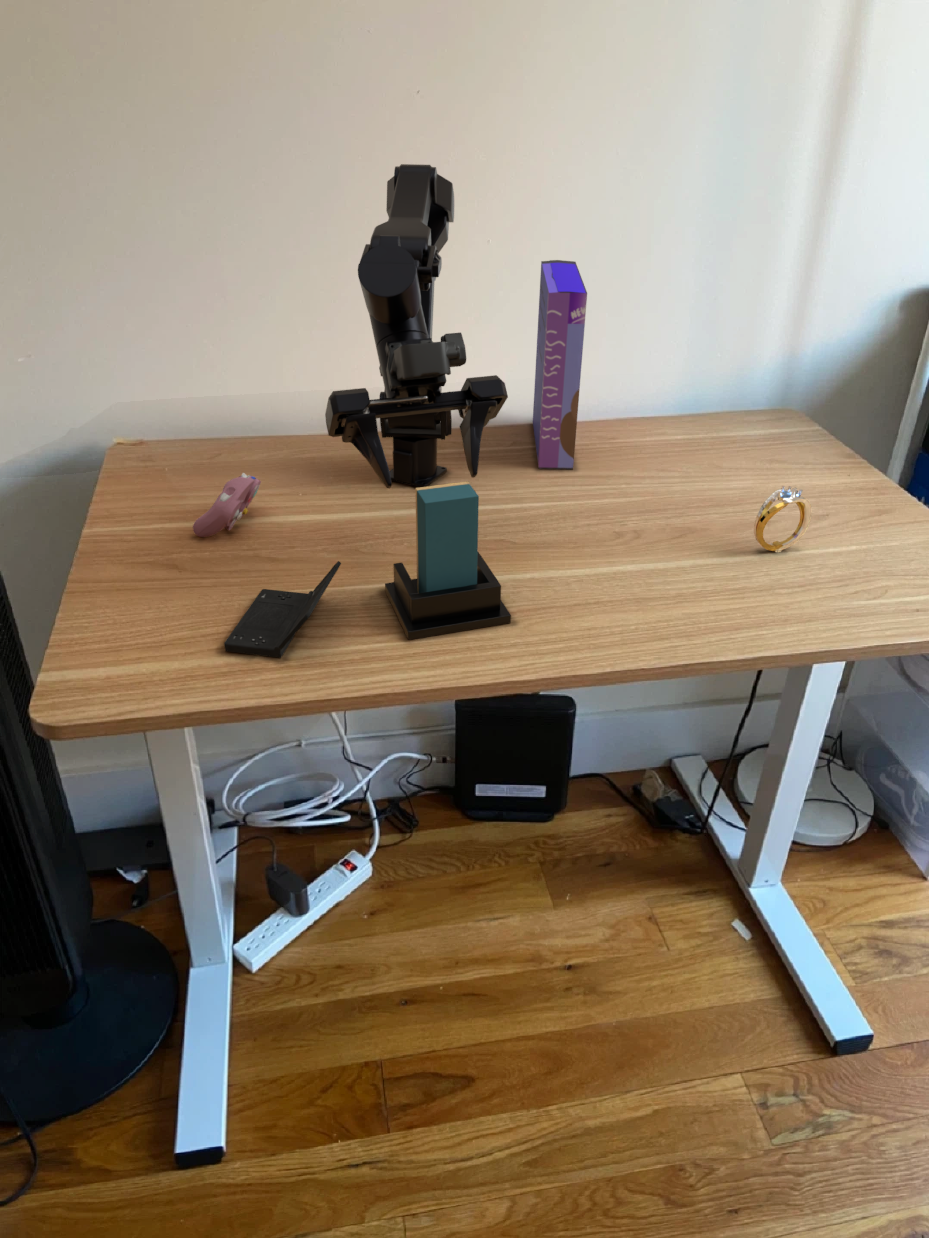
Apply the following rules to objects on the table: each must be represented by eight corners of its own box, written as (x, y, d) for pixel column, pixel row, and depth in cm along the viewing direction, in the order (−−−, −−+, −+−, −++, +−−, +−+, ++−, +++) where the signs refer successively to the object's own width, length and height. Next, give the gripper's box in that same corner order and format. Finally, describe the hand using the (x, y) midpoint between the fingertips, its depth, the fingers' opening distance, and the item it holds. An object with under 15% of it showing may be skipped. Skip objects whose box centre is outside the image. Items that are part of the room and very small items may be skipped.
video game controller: (222, 553, 113) (240, 508, 109) (187, 534, 113) (205, 489, 109) (253, 516, 122) (272, 474, 118) (221, 499, 121) (239, 455, 117)
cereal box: (573, 469, 131) (587, 291, 118) (538, 468, 131) (549, 291, 118) (563, 423, 146) (575, 260, 133) (532, 422, 146) (541, 259, 133)
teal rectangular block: (417, 594, 101) (415, 487, 94) (466, 586, 103) (467, 481, 96) (426, 611, 98) (424, 503, 92) (476, 603, 100) (478, 496, 93)
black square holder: (384, 591, 104) (383, 559, 101) (480, 576, 106) (481, 545, 104) (408, 640, 96) (407, 606, 93) (510, 623, 98) (512, 590, 96)
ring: (795, 541, 114) (809, 480, 110) (809, 553, 112) (824, 491, 107) (743, 547, 113) (754, 486, 108) (756, 560, 110) (769, 498, 106)
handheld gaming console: (241, 582, 101) (290, 523, 96) (298, 615, 104) (349, 559, 99) (217, 656, 93) (269, 595, 87) (280, 689, 96) (334, 633, 90)
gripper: (322, 311, 91) (352, 463, 89) (504, 297, 96) (539, 441, 93) (314, 366, 102) (341, 503, 99) (478, 351, 107) (508, 481, 104)
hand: (432, 481), depth 99 cm, fingers open, 9 cm apart
